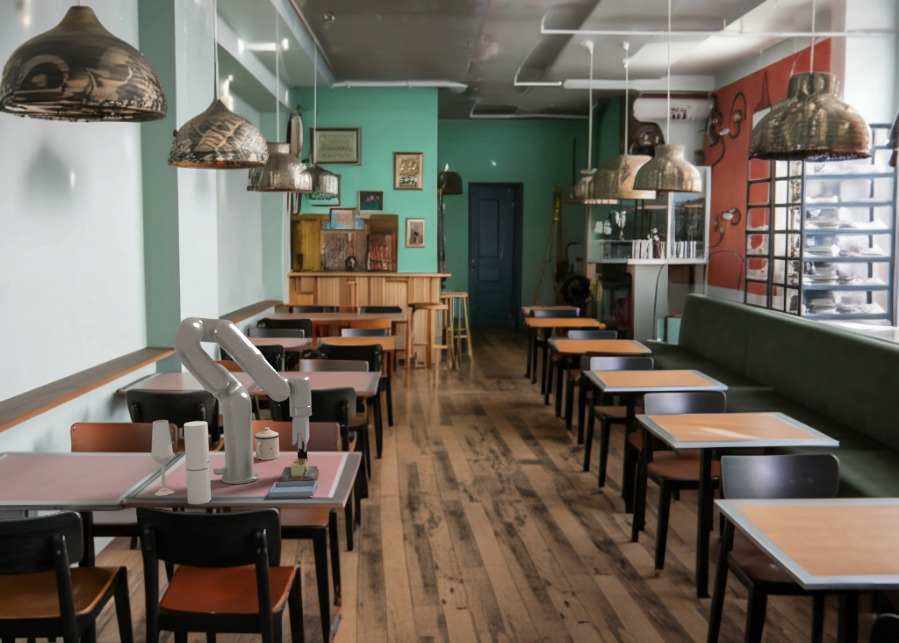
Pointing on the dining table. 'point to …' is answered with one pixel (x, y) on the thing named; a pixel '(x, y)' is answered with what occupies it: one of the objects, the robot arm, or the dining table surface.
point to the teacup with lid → (267, 444)
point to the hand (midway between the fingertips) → (302, 462)
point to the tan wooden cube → (297, 470)
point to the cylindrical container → (197, 462)
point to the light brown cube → (301, 462)
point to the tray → (293, 489)
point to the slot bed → (310, 475)
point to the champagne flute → (161, 447)
